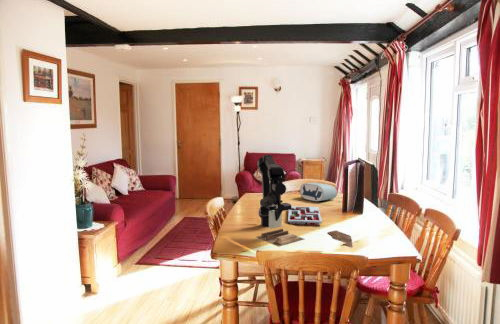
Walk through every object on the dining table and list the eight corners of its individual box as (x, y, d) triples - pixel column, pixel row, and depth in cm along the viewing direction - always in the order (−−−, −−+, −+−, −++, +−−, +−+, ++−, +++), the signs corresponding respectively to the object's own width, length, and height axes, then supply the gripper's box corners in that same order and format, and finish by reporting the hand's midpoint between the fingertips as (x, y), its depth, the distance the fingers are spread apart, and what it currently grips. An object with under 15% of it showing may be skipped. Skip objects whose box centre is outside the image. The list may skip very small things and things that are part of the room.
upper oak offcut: (276, 239, 178) (276, 237, 178) (291, 235, 184) (291, 233, 184) (281, 241, 175) (282, 239, 175) (296, 237, 181) (296, 235, 181)
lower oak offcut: (275, 241, 179) (275, 239, 178) (292, 237, 186) (292, 235, 186) (281, 244, 175) (281, 242, 174) (299, 239, 182) (299, 237, 182)
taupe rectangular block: (268, 227, 186) (268, 210, 185) (278, 225, 190) (279, 208, 189) (271, 228, 184) (271, 211, 183) (281, 226, 188) (281, 209, 187)
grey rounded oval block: (299, 198, 280) (300, 182, 279) (314, 196, 293) (315, 180, 292) (322, 203, 264) (323, 186, 263) (337, 200, 277) (338, 184, 276)
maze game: (321, 226, 208) (321, 221, 208) (288, 225, 211) (288, 220, 210) (318, 211, 243) (318, 207, 242) (289, 210, 245) (289, 206, 245)
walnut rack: (255, 238, 186) (255, 233, 186) (281, 232, 197) (281, 226, 197) (278, 248, 172) (278, 242, 172) (305, 241, 183) (305, 235, 182)
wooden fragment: (325, 231, 199) (325, 229, 199) (345, 231, 199) (345, 229, 199) (338, 248, 174) (338, 246, 173) (360, 247, 174) (360, 245, 174)
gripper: (252, 189, 187) (252, 218, 189) (275, 195, 173) (275, 227, 174) (268, 187, 194) (268, 215, 196) (292, 192, 179) (291, 223, 181)
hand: (275, 220), depth 187 cm, fingers closed on taupe rectangular block, 2 cm apart
